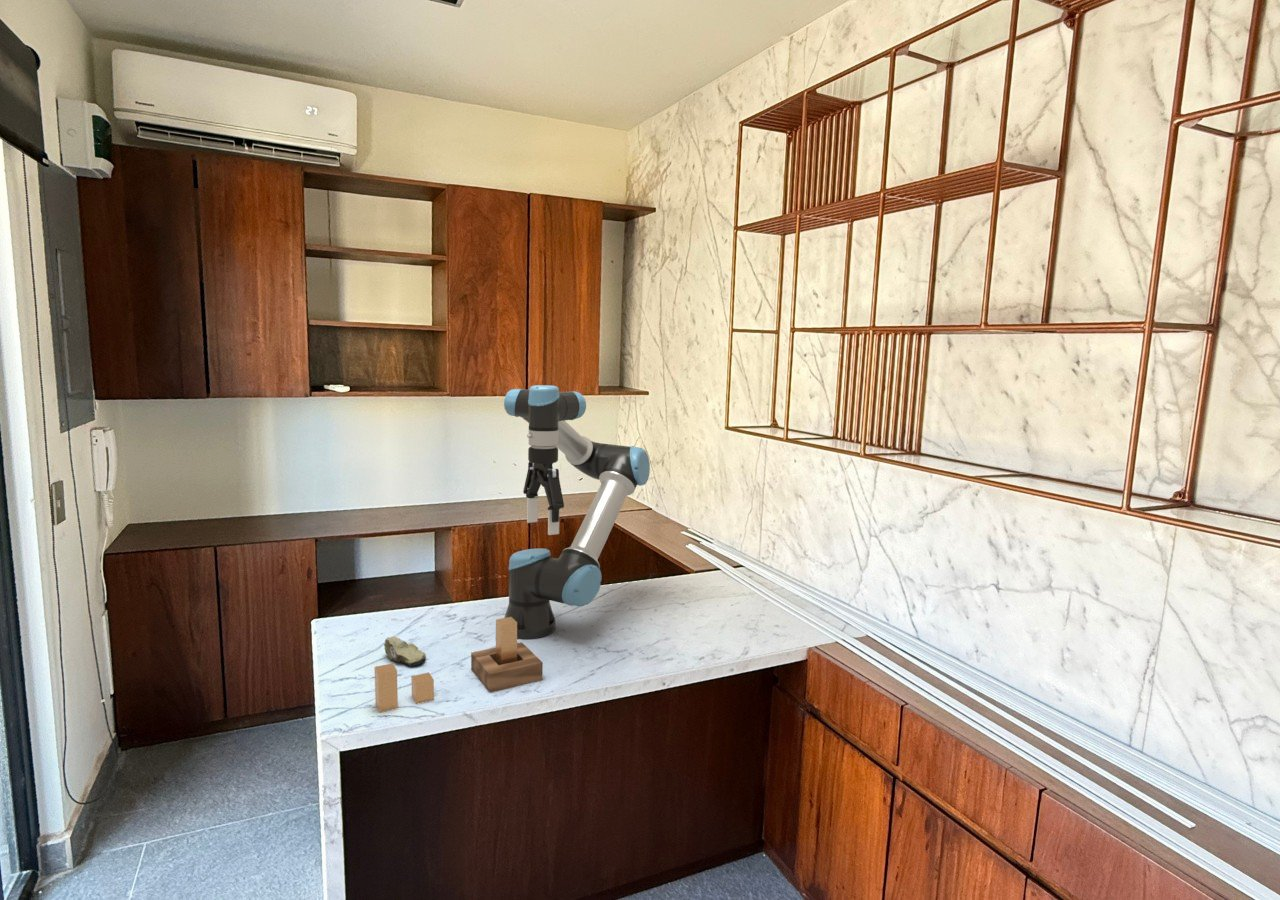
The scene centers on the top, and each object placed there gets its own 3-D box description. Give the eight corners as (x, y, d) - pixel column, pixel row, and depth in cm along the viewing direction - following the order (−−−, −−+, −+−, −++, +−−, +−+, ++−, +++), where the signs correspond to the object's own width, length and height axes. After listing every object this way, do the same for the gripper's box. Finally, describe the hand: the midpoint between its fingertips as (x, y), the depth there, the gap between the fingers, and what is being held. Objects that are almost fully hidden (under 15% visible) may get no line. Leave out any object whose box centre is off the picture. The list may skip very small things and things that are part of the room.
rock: (425, 671, 176) (428, 649, 185) (423, 649, 174) (427, 628, 183) (380, 675, 173) (385, 652, 183) (378, 653, 171) (384, 631, 181)
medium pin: (375, 704, 156) (374, 666, 155) (393, 700, 158) (393, 663, 157) (379, 712, 153) (378, 674, 152) (397, 708, 155) (397, 670, 154)
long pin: (495, 673, 173) (495, 619, 171) (511, 669, 175) (511, 616, 173) (501, 679, 170) (501, 625, 168) (516, 676, 172) (517, 622, 170)
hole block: (471, 669, 175) (471, 652, 174) (521, 658, 182) (521, 642, 181) (489, 692, 163) (489, 674, 163) (542, 679, 170) (542, 662, 170)
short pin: (411, 696, 160) (411, 676, 160) (429, 692, 163) (428, 672, 162) (416, 704, 157) (415, 683, 156) (433, 699, 159) (433, 679, 158)
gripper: (511, 441, 184) (511, 518, 187) (549, 454, 163) (549, 541, 166) (537, 439, 188) (536, 516, 191) (578, 452, 167) (577, 538, 170)
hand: (542, 528), depth 179 cm, fingers open, 13 cm apart
